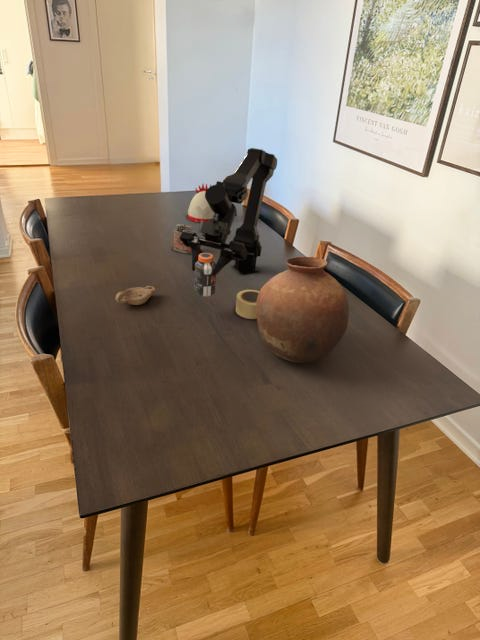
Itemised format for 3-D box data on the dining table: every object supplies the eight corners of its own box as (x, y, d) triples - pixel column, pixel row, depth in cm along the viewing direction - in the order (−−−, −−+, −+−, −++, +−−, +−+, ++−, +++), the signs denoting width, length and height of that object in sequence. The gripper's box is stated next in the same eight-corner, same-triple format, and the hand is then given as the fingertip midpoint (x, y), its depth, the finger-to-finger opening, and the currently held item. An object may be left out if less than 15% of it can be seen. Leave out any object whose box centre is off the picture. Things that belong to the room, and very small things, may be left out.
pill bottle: (214, 298, 124) (216, 260, 118) (193, 296, 124) (193, 259, 117) (215, 287, 129) (217, 251, 123) (195, 286, 129) (196, 250, 123)
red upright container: (171, 249, 166) (171, 224, 160) (176, 246, 168) (176, 221, 163) (191, 254, 163) (191, 228, 158) (195, 251, 166) (196, 225, 161)
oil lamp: (147, 290, 138) (147, 276, 135) (162, 300, 134) (161, 285, 131) (109, 303, 130) (108, 288, 127) (123, 314, 125) (122, 298, 123)
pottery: (318, 390, 104) (339, 296, 91) (235, 353, 113) (243, 264, 100) (351, 345, 121) (373, 261, 108) (277, 317, 130) (288, 236, 117)
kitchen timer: (218, 224, 193) (219, 189, 185) (186, 221, 192) (186, 186, 185) (219, 213, 205) (221, 180, 197) (189, 211, 204) (190, 177, 196)
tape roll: (255, 301, 138) (257, 287, 135) (271, 315, 131) (273, 300, 128) (230, 306, 133) (231, 292, 131) (245, 321, 127) (246, 306, 124)
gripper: (182, 201, 119) (162, 253, 117) (247, 214, 114) (227, 270, 111) (195, 220, 130) (176, 269, 127) (254, 233, 125) (237, 285, 122)
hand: (203, 273), depth 121 cm, fingers closed on pill bottle, 6 cm apart
